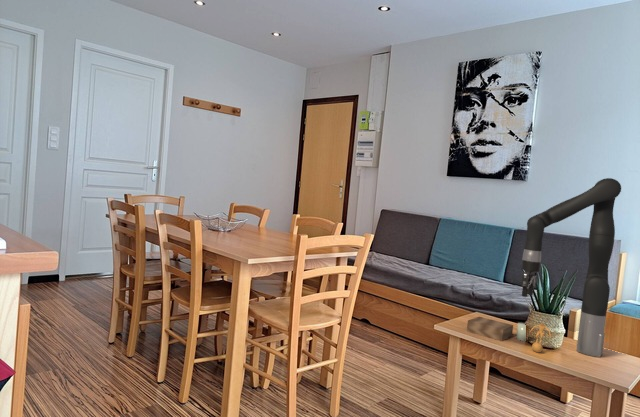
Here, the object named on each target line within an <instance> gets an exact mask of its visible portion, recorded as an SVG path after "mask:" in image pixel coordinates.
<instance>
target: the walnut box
mask: <svg viewBox="0 0 640 417" xmlns="http://www.w3.org/2000/svg"><path fill="white" fill-rule="evenodd" d="M466 326H467V327H466V332H469V333H472V334H476V335H479V336H483V337H487V338H489V339H493V340H496V341H501V342H503V341H505V340H506V339H508V338H510V337H513V330H514V324H510V323H506V322H502V321H499V320H495V319H490V318H487V317H483V316H477V317H473V318H471V319H468V320H467V325H466Z"/></svg>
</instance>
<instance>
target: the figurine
mask: <svg viewBox="0 0 640 417" xmlns="http://www.w3.org/2000/svg"><path fill="white" fill-rule="evenodd" d="M535 328H538V329H539V330H537V332H536V335H535V336H536V341H535V342H534V343H532V346H531V348H532V349H531V350H532V351H533V352H535V353H541V352H542V351H543V349H544V348H543V345H542V341H543V338H544V335H545V332H544V331H545V329H546V330H547V332H548V334H549V338H551V337H552V335H551V330H550V328H548V327H547V326H546V325H545V324H544V323H542V322H541V323H540V324H536V325H534V326H533V327H531V329H530V330H529V333H531V332H532V331H533V330H534V329H535ZM539 336H540V340H539ZM538 341H539V342H538Z"/></svg>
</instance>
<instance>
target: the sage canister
mask: <svg viewBox="0 0 640 417" xmlns="http://www.w3.org/2000/svg"><path fill="white" fill-rule="evenodd" d="M525 324H526V323H525V322H517V326H516V327H517V328H516V336H515V339H516V340H517V339H518V340H517V341H520V340H521V342H525V341H526V325H525Z"/></svg>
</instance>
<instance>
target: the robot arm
mask: <svg viewBox="0 0 640 417" xmlns="http://www.w3.org/2000/svg"><path fill="white" fill-rule="evenodd" d="M621 192H622V185H621V183H620V182H619V181H618V180H617V179H616V178H615V179H614V178H611V177H608V178H607V177H606V178H603V179H600V180H598V181H597V182H596V183H595V184H594V186H592V187H591V188H589V189H588V190H585V191H584V192H582V193H580V194H578V195H576V196H574V197H571V198H569V199H566V200H564V201H562V202H559V203H558V204H556V205H553V206H552V207H550V208H548V209H546V210H544V211H542V212H540V213H537V214H536V215H533V216H531V217H529V218H528V220H527V222H526V238H525V240H524V247H523V248H524V249H523V253H522V259H521V267H520V268H521V269H522V270H523V271H525V272H523V273H522V274H521V275H522V276H521V283H520V287H521V288H522V289H521V296H522V297H524V298H527V297H528V296H533V295H534V288H535V286H536V285H537V275H538V272H540V271H541V263H542V262H541V261H542V249H543V248H542V247H543V237H544V233H545V228H547V227H549V226H551V225H553V224H556V223H559V222H561V221H563V220H565V219H568V218H569V217H572V216H573V215H576V214H577V213H579V212H581V211H583V210H585V209H586V208H589V207H591V206H593V212H592V217H591V222H590V227H589V234H588V235H589V236H588V246H587V248H588V249H587V250H588V266H587V267H588V268H587V273H586V278H585V281H584V282H583V286H584V287H583V294H582V300H581V301H582V302H581V306H580V307H581V308H580V309H581V310H580V317H579V318H580V319H579V323H578V324H579V326H578V331H577V332H578V333H577V341H576V342H577V343H576V351H577V352H579V353H580V354H582V355H586V356H590V357H591V356H592V357H597V358H601V356H603V352H604V345H605V344H604V343H605V336H606V335H605V327H606V319H607V312H608V307H609V306H608V305H609V299H610V292H611V289H610V288H611V287H610V284H609V264H610V262H611V258H612V254H613V250H614V244H615V243H614V242H615V237H616V236H615V234H616V232H615V231H616V228H615V220H614V207H615V203H616V202H615V201H616V198H617V197H619V195H620V194H621ZM529 283H530V284H529ZM530 286H531V288H532V289H533V291H532V289H531V288H529V287H530Z"/></svg>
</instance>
